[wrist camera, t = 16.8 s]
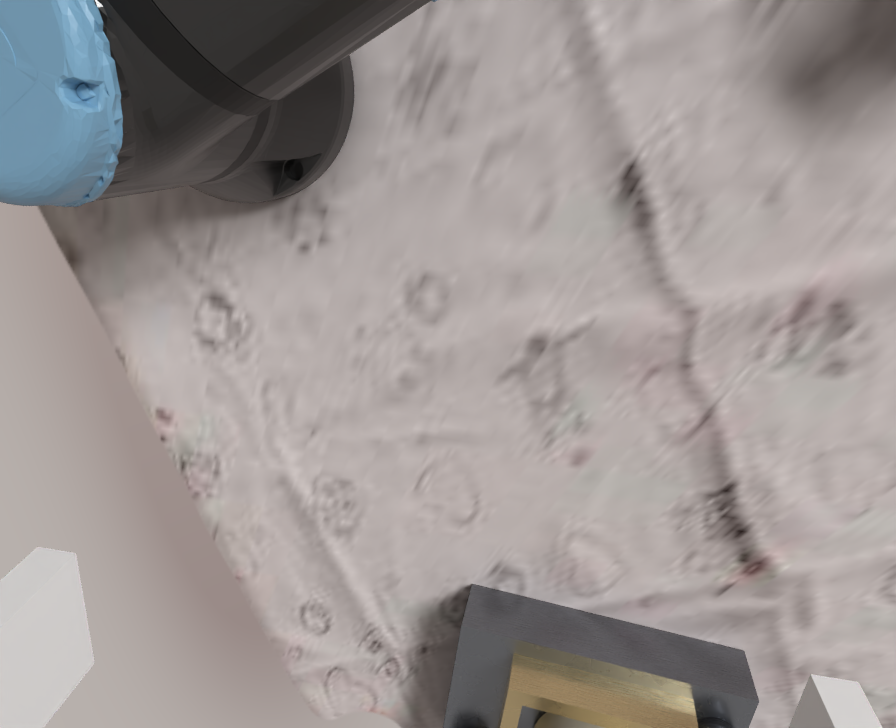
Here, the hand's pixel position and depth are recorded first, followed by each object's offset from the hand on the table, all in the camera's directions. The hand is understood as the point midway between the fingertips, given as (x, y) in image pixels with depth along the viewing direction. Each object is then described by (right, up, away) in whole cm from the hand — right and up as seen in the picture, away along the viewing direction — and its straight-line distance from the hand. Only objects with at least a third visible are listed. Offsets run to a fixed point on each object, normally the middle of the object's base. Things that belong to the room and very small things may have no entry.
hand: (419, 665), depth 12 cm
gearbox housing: (+12, -22, +45) cm, 51 cm away
